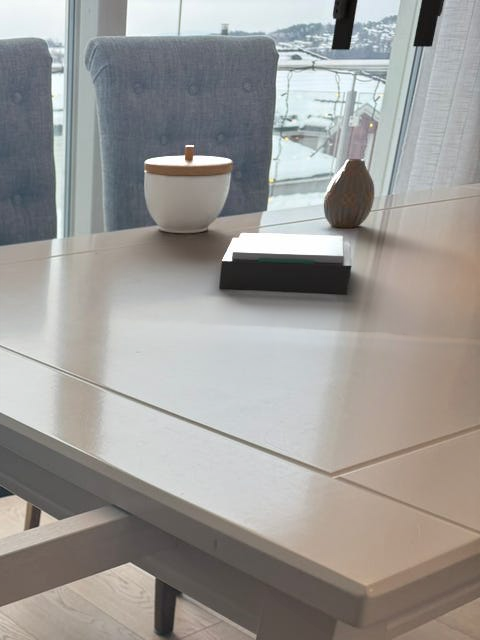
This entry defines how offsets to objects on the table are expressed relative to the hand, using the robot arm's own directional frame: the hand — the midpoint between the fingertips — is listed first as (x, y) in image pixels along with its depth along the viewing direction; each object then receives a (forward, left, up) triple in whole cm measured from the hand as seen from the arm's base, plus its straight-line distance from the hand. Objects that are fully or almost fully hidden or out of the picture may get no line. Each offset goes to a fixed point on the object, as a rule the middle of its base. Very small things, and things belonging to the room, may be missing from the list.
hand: (382, 48), depth 124 cm
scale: (+8, +34, -22) cm, 41 cm away
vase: (+1, -3, -23) cm, 23 cm away
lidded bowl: (+24, +4, -23) cm, 33 cm away
